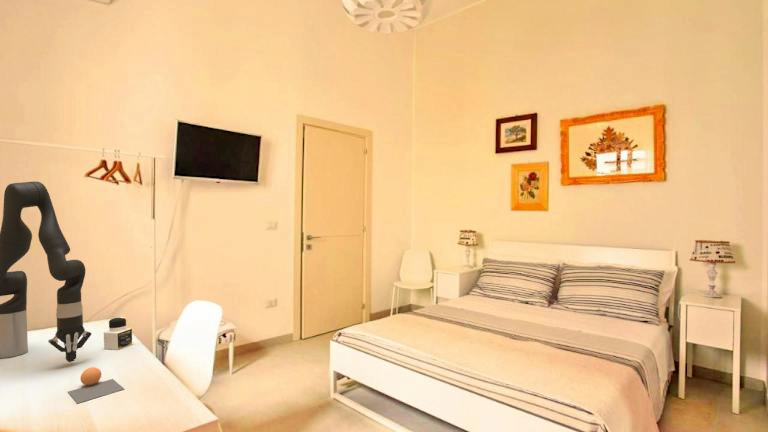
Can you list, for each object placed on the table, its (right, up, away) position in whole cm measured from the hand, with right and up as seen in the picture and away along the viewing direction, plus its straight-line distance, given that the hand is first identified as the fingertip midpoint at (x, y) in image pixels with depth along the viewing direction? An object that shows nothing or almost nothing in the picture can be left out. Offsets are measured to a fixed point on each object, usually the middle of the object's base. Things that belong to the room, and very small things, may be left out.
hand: (71, 361), depth 146 cm
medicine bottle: (+4, -1, +20) cm, 20 cm away
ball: (+20, +1, -17) cm, 27 cm away
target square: (+25, -1, -22) cm, 34 cm away
